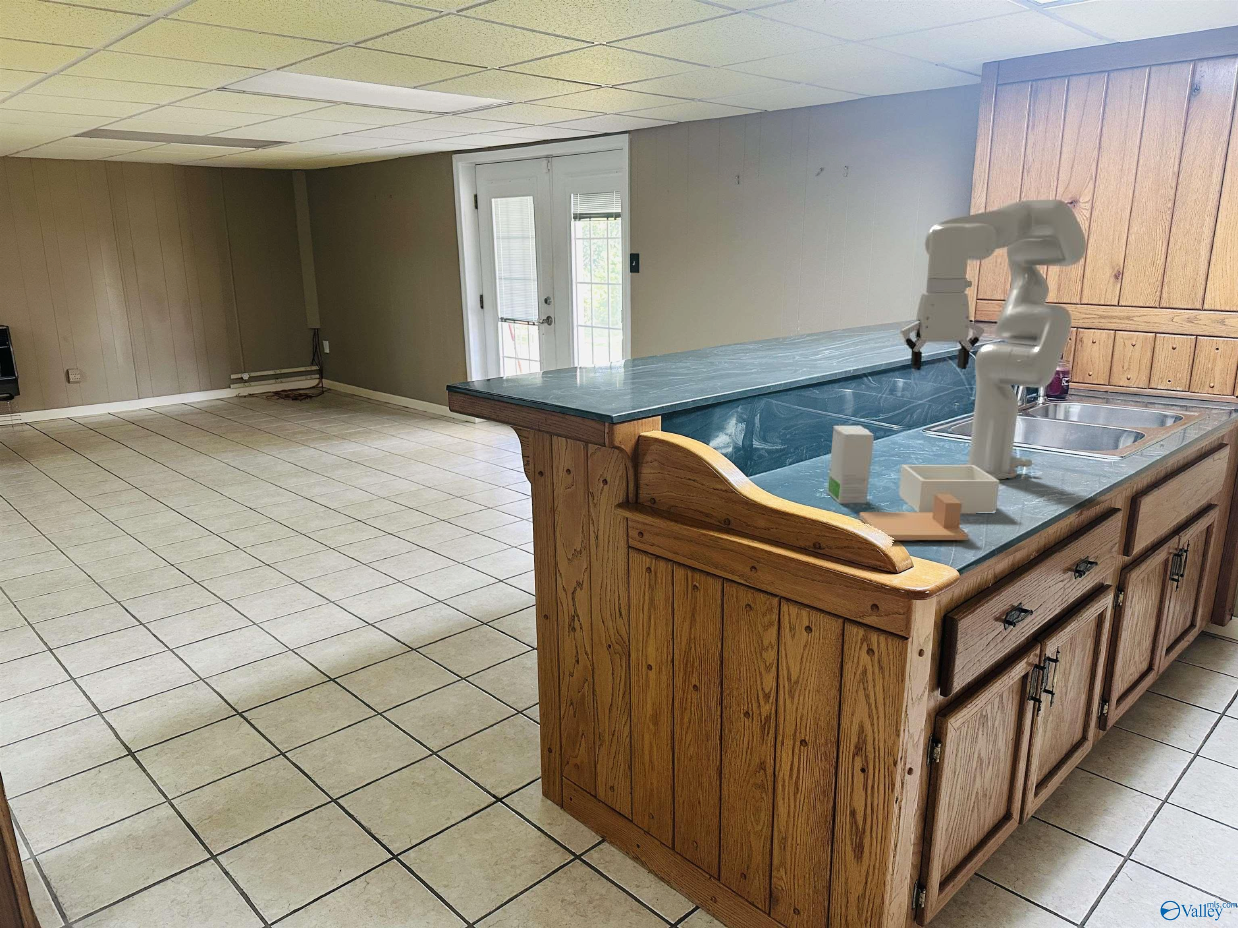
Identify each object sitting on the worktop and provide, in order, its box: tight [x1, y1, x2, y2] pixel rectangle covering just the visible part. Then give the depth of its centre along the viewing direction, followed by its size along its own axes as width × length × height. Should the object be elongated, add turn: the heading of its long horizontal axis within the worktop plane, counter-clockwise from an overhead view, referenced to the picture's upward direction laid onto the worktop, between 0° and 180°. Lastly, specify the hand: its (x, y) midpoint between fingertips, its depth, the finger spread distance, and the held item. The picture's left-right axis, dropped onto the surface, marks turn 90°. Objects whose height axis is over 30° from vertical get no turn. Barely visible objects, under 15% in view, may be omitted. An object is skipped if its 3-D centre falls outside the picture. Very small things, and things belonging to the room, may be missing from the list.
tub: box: [898, 464, 1000, 514], centre depth 183 cm, size 16×13×7 cm
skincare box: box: [827, 425, 875, 505], centre depth 186 cm, size 8×7×16 cm
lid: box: [859, 494, 970, 542], centre depth 166 cm, size 17×14×7 cm
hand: (939, 368), depth 182 cm, fingers open, 9 cm apart
